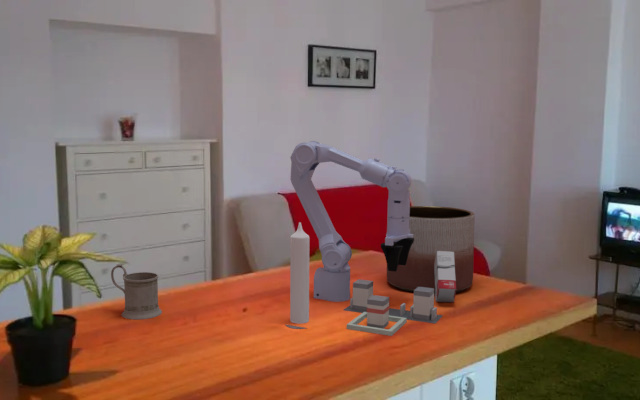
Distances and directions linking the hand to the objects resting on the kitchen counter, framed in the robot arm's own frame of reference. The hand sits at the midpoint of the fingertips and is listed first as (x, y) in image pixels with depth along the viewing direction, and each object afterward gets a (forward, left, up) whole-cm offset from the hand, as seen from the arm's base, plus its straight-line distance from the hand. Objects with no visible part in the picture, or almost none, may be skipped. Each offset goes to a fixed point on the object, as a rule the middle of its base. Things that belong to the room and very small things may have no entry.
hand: (397, 267), depth 173 cm
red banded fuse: (+2, -20, -10) cm, 22 cm away
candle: (-16, -25, -11) cm, 32 cm away
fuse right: (+10, -9, -9) cm, 16 cm away
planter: (+2, +26, -11) cm, 28 cm away
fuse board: (+2, -9, -10) cm, 14 cm away
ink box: (+12, +4, -8) cm, 15 cm away
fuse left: (-6, -9, -9) cm, 14 cm away
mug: (-58, -35, -11) cm, 69 cm away
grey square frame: (+2, -20, -10) cm, 23 cm away
